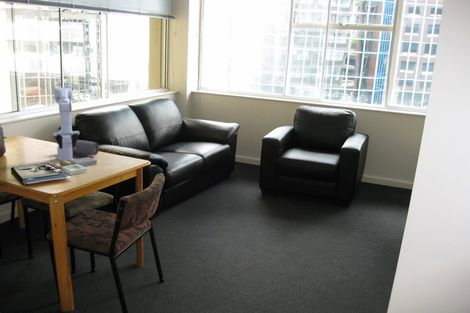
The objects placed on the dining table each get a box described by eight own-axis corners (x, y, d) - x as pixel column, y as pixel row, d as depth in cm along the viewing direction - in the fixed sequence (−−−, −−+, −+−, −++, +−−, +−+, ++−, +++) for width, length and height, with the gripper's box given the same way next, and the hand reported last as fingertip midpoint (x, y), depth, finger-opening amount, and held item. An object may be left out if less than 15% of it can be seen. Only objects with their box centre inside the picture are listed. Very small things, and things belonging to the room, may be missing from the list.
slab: (70, 164, 269) (70, 159, 268) (89, 161, 277) (89, 157, 277) (77, 168, 263) (77, 163, 262) (96, 165, 271) (96, 160, 271)
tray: (61, 170, 255) (61, 166, 254) (77, 168, 262) (77, 164, 261) (70, 175, 248) (70, 170, 248) (86, 172, 255) (86, 168, 254)
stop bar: (47, 167, 260) (47, 162, 259) (50, 166, 261) (50, 161, 260) (57, 172, 252) (56, 167, 251) (60, 171, 253) (60, 166, 253)
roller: (59, 166, 262) (59, 160, 261) (66, 165, 265) (65, 159, 264) (64, 169, 258) (64, 162, 257) (71, 168, 261) (70, 161, 260)
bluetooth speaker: (59, 155, 287) (58, 139, 284) (67, 152, 296) (67, 137, 293) (91, 159, 282) (91, 143, 280) (99, 155, 291) (99, 140, 288)
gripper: (57, 124, 247) (58, 149, 249) (81, 123, 258) (82, 147, 259) (51, 124, 252) (52, 148, 254) (75, 123, 263) (76, 146, 264)
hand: (67, 148), depth 257 cm, fingers open, 7 cm apart
